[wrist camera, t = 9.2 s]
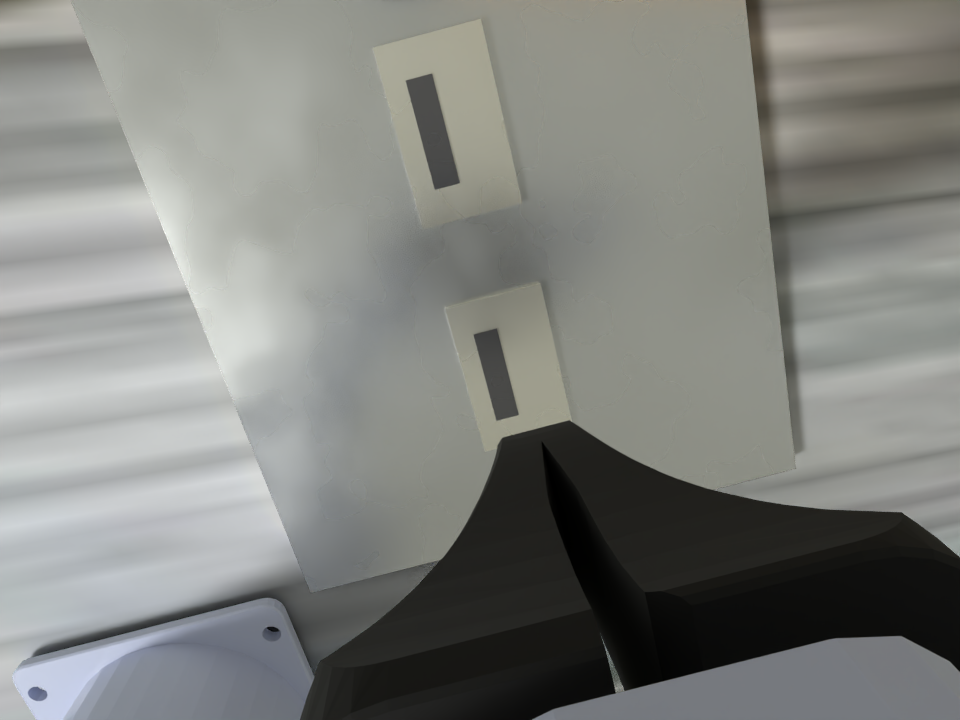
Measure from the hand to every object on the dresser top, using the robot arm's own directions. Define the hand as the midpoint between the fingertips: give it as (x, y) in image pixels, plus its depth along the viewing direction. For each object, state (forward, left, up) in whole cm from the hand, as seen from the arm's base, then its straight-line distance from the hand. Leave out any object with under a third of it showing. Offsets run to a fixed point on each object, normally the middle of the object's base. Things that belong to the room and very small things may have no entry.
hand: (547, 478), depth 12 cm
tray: (+4, 0, -6) cm, 8 cm away
